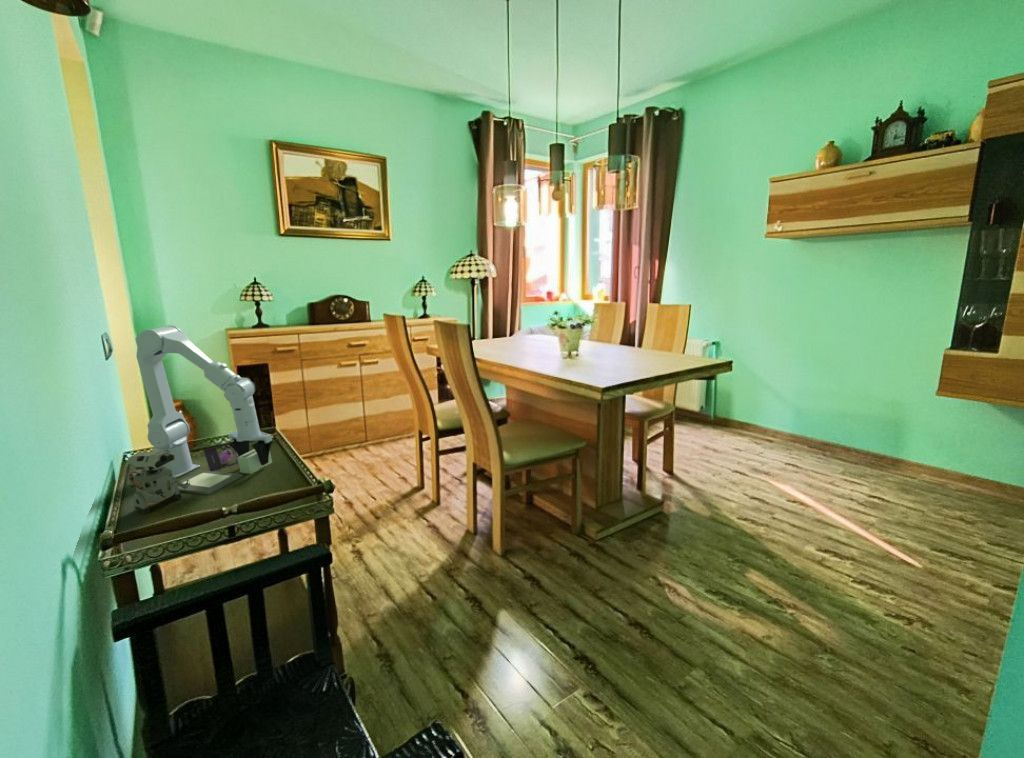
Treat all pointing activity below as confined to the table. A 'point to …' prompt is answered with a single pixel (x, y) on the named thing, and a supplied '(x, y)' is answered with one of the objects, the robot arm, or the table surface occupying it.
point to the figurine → (153, 478)
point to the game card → (219, 457)
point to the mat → (208, 481)
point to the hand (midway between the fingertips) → (255, 463)
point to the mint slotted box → (251, 462)
